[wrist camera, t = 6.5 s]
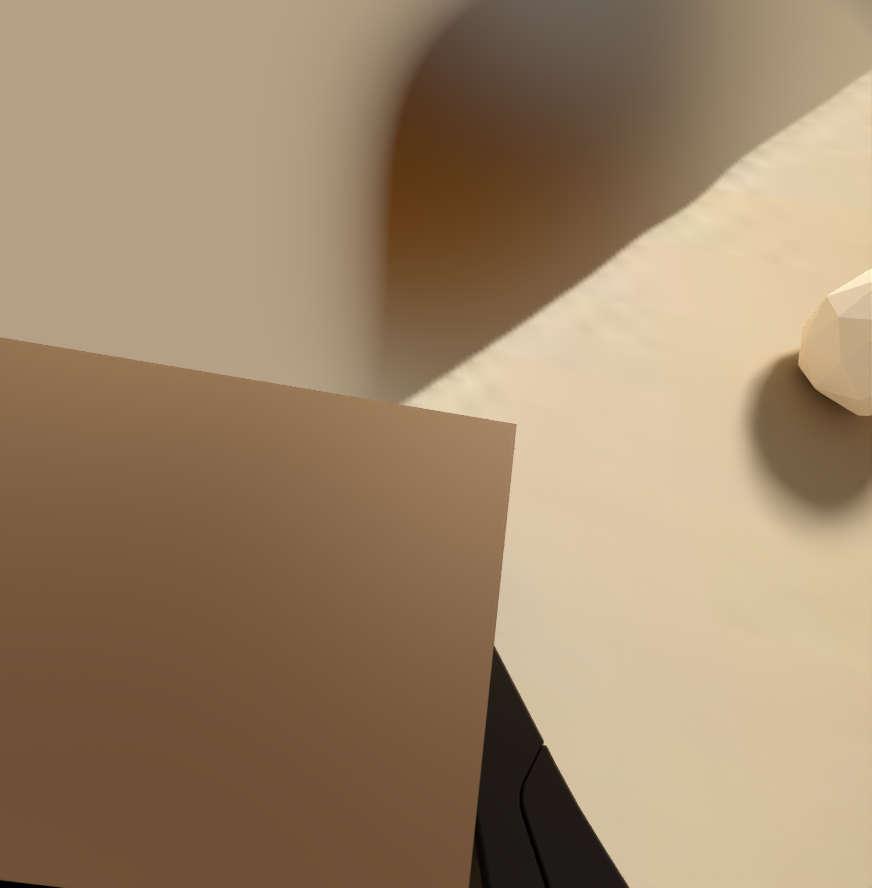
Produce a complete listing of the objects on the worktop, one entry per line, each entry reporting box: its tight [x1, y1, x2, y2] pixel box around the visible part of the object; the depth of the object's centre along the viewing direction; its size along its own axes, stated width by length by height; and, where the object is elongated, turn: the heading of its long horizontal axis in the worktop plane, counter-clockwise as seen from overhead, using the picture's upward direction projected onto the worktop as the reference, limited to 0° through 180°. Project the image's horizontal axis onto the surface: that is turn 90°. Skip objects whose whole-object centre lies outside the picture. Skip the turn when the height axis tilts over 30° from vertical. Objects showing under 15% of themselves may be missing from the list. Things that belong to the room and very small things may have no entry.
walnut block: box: [0, 338, 516, 888], centre depth 8 cm, size 5×5×13 cm
